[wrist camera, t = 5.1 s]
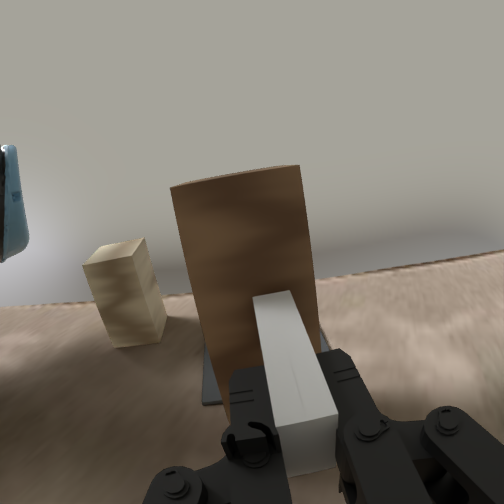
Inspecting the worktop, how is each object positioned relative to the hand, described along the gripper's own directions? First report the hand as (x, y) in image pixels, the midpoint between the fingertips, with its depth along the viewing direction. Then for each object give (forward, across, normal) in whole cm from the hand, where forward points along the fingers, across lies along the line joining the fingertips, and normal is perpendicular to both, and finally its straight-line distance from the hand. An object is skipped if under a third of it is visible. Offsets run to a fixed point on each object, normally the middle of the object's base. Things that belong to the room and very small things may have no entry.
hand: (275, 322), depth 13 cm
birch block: (+16, -13, -10) cm, 23 cm away
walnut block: (+2, -1, -9) cm, 9 cm away
